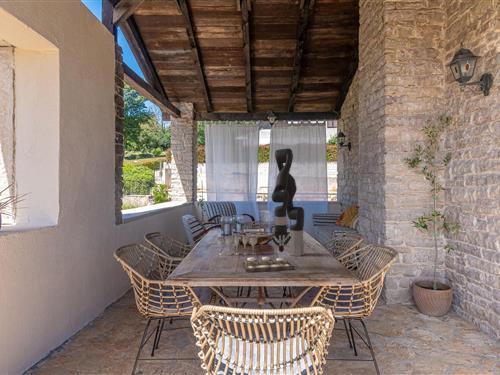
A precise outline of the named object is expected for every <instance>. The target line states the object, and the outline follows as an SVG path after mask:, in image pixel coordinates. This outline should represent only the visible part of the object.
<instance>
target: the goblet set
mask: <svg viewBox="0 0 500 375" xmlns="http://www.w3.org/2000/svg"><path fill="white" fill-rule="evenodd" d="M232 242H233V243H234V245H235V247H236V250H238V246H239V243H240V236H239V235H237V234H236V235H234V237H233V236H232V235H225V236H224V237H222V236H219V237H216V243H217V245H218V247H219V251H220V252H219V253H218V254H217V256H224V254H223V253H222V252H221V251H222V246H223V244H224V243H225V244H226V246H227V249H228V253H225V256H231V255H234V256H239V254H240V253H234V254H233V253H230V246H231V244H232ZM247 243H249V245H251V247H252V249H254V247H255V246H256V245H257V243H258V238H257V236H249V238H248V235H242V244H243V246H244V248H246V246H247ZM251 253H252V254H254V252H251ZM243 254H244V255H243V256H247V255H246V254H247V253H243Z"/></svg>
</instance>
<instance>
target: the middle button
mask: <svg viewBox="0 0 500 375" xmlns="http://www.w3.org/2000/svg"><path fill="white" fill-rule="evenodd" d="M261 259H262V261H270V259H271V257H270V256H262V257H261Z"/></svg>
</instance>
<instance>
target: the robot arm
mask: <svg viewBox="0 0 500 375" xmlns="http://www.w3.org/2000/svg"><path fill="white" fill-rule="evenodd" d="M293 153H294V152H293V150H292V149H291V148H289V147H288V148H281V149H280V148H279V149H277V150H275V151H274V158H275V162H276V164H277V165H276V166H277V169H278V174H277V176H276V181H275V186H274V189H273V190H272V194H271V201H272V202H273V203H282V205H279V206H276V207H275V208H274V233H273V236H271V237H270V239H271V241H272V242H273V243H274V244H275V245H276V246H277V247H278V251H279V252H280V253H283V252H284V251H285V246H287V245H288V243H289V255H290V256H293V257H294V256H295V257H300V256H305V240H304V227H305V226H304V225H305V210H304V207H302V206H294V197H295V195H296V194H297V188H298V187H297V183H296V180H295V178H294V176H293V175H292V174H291V173H290V172H291V168H292V164H293V159H294V154H293ZM288 219H289V220H292V221H296V222H295V223H294V224H291V225H289V234H288Z"/></svg>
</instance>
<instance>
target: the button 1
mask: <svg viewBox="0 0 500 375" xmlns="http://www.w3.org/2000/svg"><path fill="white" fill-rule="evenodd" d="M246 260H247V262H256V260H257V259H256V257H254V256H252V257H247V259H246Z"/></svg>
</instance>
